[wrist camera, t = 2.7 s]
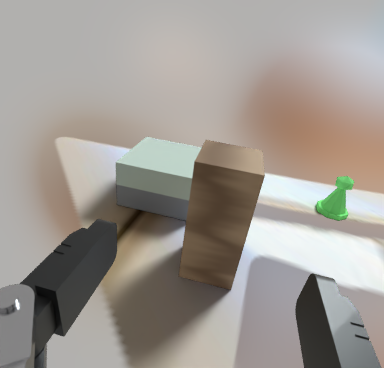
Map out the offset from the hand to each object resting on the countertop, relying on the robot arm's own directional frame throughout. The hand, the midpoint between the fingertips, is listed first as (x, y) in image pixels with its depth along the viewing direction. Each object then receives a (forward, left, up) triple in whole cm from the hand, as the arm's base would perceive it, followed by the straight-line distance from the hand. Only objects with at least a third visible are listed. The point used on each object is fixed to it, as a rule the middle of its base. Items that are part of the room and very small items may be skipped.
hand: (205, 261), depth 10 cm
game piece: (-16, -27, -12) cm, 34 cm away
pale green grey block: (+8, -22, -12) cm, 26 cm away
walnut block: (0, -11, -12) cm, 16 cm away
